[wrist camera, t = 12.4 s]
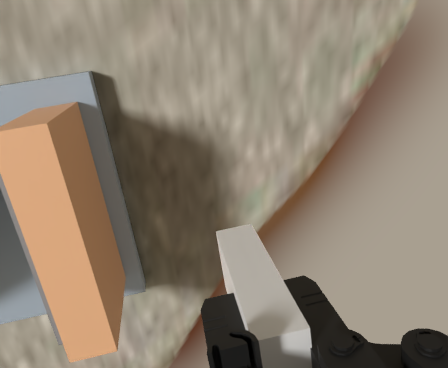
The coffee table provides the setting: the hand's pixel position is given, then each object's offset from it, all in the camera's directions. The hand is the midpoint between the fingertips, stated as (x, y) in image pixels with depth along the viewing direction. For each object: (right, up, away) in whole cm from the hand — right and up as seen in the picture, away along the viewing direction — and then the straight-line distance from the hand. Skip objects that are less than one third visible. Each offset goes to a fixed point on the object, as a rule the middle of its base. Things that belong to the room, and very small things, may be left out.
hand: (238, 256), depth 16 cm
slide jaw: (-10, +2, +8) cm, 13 cm away
